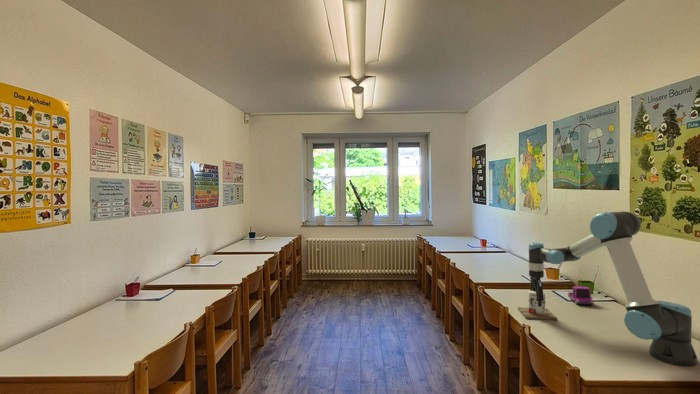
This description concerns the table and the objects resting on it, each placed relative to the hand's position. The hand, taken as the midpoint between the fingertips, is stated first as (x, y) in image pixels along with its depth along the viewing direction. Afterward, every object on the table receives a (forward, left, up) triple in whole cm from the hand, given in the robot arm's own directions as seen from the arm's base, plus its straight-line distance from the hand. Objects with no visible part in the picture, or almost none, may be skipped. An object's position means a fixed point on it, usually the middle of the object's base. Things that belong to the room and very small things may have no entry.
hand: (536, 309), depth 204 cm
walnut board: (0, 0, -3) cm, 3 cm away
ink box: (0, 0, -2) cm, 2 cm away
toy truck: (+27, -34, -4) cm, 43 cm away
